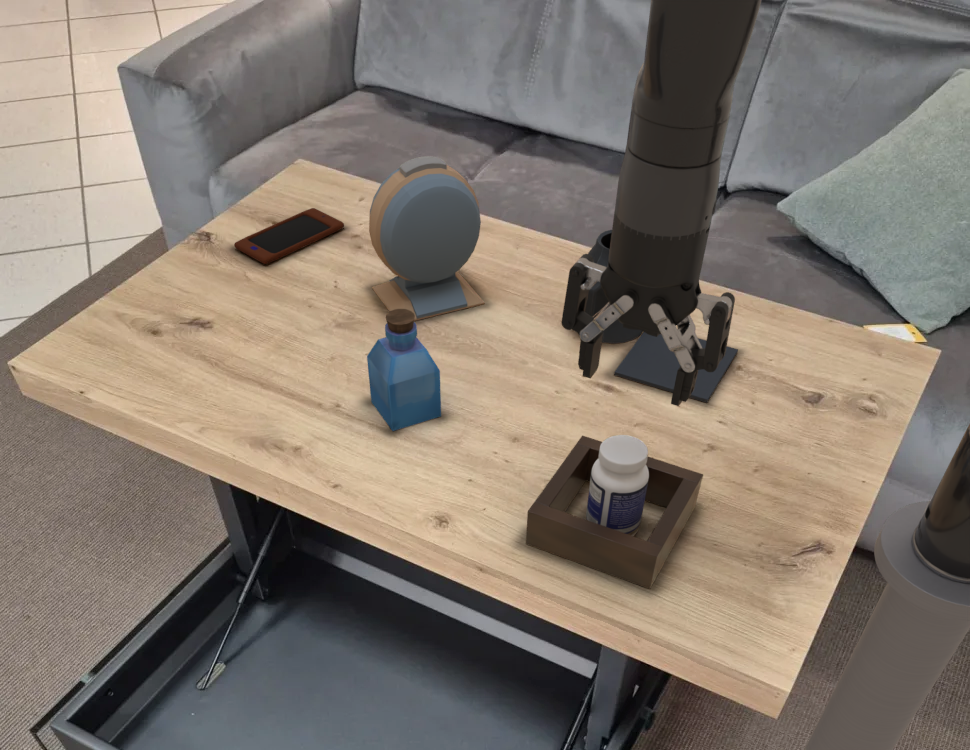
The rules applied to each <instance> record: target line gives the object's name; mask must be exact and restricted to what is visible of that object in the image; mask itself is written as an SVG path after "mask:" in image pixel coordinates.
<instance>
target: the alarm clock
mask: <svg viewBox="0 0 970 750" xmlns="http://www.w3.org/2000/svg"><path fill="white" fill-rule="evenodd" d="M480 211H481V210H480V204H479V199H478V198H477V195H476V193H475V190H474V188H473V187H472V186H471V185H470V183H468V181H467V180H466V178H465V177H464V176H463V175H461V173H460V172H458V171H457V170H456V169H454V168H453V167H451V166H450V165H448V164H447V162H445V161H444V160H443V158H441V157H439V156H432V155H424V156H418V157H414V158H412V159H409V160H407V161H405V162H402V164H400V165H399V167H398V168H397V169H395V170H394V171H392V172H391V173H390V174H389V175H387V176H386V178H385V179H384V180H383V181H382V182H381V184H380V185H379V187H378V189H377V190H376V192H375V194H374V196H373V198H372V202H371V205H370V209H369V220H368V221H369V222H368V227H369V228H368V232H369V237H370V242H371V246H372V247H373V249H374V251H375V253H376V255H377V257H378V258H379V260H381V262H382V263H383V264H384V266H385V267H387V269H388V270H389V271H390V272H391V273H392V274H393V275H395V276H394V277H392V278H391V279H389V280H388V281H386V282H384V283H380V284H376V285H373V286H371V289H372V290H373V292H374V293H375V294H376V296H377V297H378V299H379V300H380V301H381V302H382V304H383V305H384V307H385V308H386V309H387V310H388V312H389V311H391V310H394V309H407V310H410V311H412V312H413V313H414V315H415V319H414V322H415V321H419V320H424V319H429V318H432V317H433V318H434V317H436V316H441V315H445V314H449V313H453V312H457V311H461V310H464V309H465V310H466V309H470V308H473V307H478V306H482V305H485V301H484V300H483V298H482V297H481V296H480V295H479V294H478V293H477V292H476V290H475V289H473V287H472V286H471V285H470V284H469V283H468V282H467V280H466V279H465V278H464V277H463V276H462V275H461V274H460V273H459V271H460V270H461V268H462V267H464V265H466V263H467V262H468V261H469V259H470V258H471V256H472V254H473V253H474V252H475V249H476V247H477V243H478V242H479V237H480V232H481V226H482V225H481V224H482V221H481V212H480Z"/></svg>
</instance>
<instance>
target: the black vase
mask: <svg viewBox="0 0 970 750" xmlns="http://www.w3.org/2000/svg"><path fill="white" fill-rule="evenodd" d="M611 235H612V229H609V230H605V231H603V232H601V233H600V234H599V235H598V236H597V238H596V240H595V244H594V245H593V246H592V247H591V249H590V250H588V252H587V254H589V255H591V256H592V257H593V260H594V263H596V264H599V265H602V266H605V267H607V266H608V259H609V250H610V243H611ZM608 302H609V301H608V299H607V297H606V295H605V293H604V291H603V289H602V287H601V284H600V282H599V281H598V282H596V283H595V285H594V286H593V287H592V288H591V289H590V290H589V292H588V298H587V303H586V309H585V312H586V313H587V314H589V315H590V316H592V317H593V316H594V315H595V314H596V313H598V312H599V311H600V310H601V309H602V308H603V307H604V306H605V305H606V304H607V303H608ZM602 332H603V337H602V344H624V343H628V342H631V341H634V340H636V339H637V338H639V337H640V336H641V335H642V334H643V331H641V330H631V329H628V328H624V327H623V324H622V323H621V322H620V321H619V320H618V319H617V320H616V321H615V322H613V323H612V324H611V325H610V326H609V327H607V328H606V329H605V330H604V331H602Z"/></svg>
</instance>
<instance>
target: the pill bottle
mask: <svg viewBox="0 0 970 750" xmlns="http://www.w3.org/2000/svg"><path fill="white" fill-rule="evenodd" d="M601 442H602V443H601V445H600V450H599V458H598V459H597V460H596V461H595V463H594V465H593V467H592V471H591V479H590V482H589V488H588V494H587V503H586V512H585V520H588V521H591V522H594V523H597V524H600V525H602V526H605V527H608V528H611V529H614V530H617V531H620V532H622V533H625V534H628V535H631V536H634V537H635V536H636V534H638V531H639V529H640V527H641V523H642V519H643V518H642V517H643V512H644V506H645V502H646V501H645V496H646V490H647V485H648V479H649V471H648V468H647V466H646V463H647V457H649V448H648V446H647V445H646V443H645V442H644V441H642V440H641V439H640V438H638V437H635V436H634V435H628V434H616V435H611V436H609V437H607V438H605V439H604V440H603V441H601Z"/></svg>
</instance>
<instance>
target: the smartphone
mask: <svg viewBox="0 0 970 750" xmlns="http://www.w3.org/2000/svg"><path fill="white" fill-rule="evenodd" d="M343 228H345V223H344V222H343V221H342V220H339V219H337V218H336V217H334V216H331V215H329V214H327V213H326V212H323V211H321V210H319V209H318V208H314V207H311V208H309V209H306V210H303V211H301V212H299V213H297V214H295V215H292V216H289V217H288V218H285V219H283V220H281V221H279V222H277V223H274V224H272V225H270V226H268V227H265V228H263V229H261V230H259V231H256V232H254V233H252V234H250V235H248V236H245V237H242V238H241V239H239V240H238V241H235V242H234V245H233V247H234V248H235V249H236V250H238V251H240V252H242V253H244V254H245V255H247V256H249V257H251V258H252V259H254V260H256V261H258V262H259V263H262V264H264V265H267V264H270V263H272V262H275V261H277V260H279V259H281V258H283V257H285V256H288V255H290V254H292V253H294V252H295V251H298V250H301V249H303V248H305V247H308V246H309V245H311V244H313V243H315V242H317V241H319V240H322V239H324V238H326V237H328V236H331V235H332V234H334V233H337V232H338V231H340V230H342V229H343Z"/></svg>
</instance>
